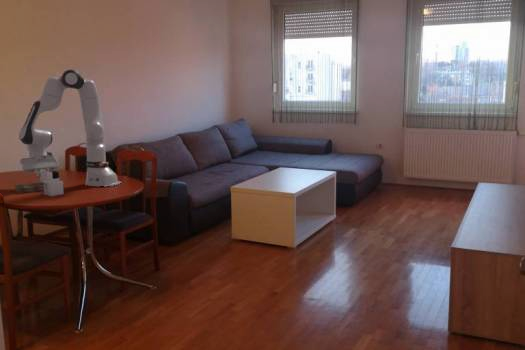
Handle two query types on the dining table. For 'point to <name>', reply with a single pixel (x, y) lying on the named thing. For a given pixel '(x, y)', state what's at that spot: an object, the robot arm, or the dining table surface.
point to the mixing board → (29, 187)
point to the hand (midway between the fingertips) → (43, 175)
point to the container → (53, 184)
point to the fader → (42, 176)
